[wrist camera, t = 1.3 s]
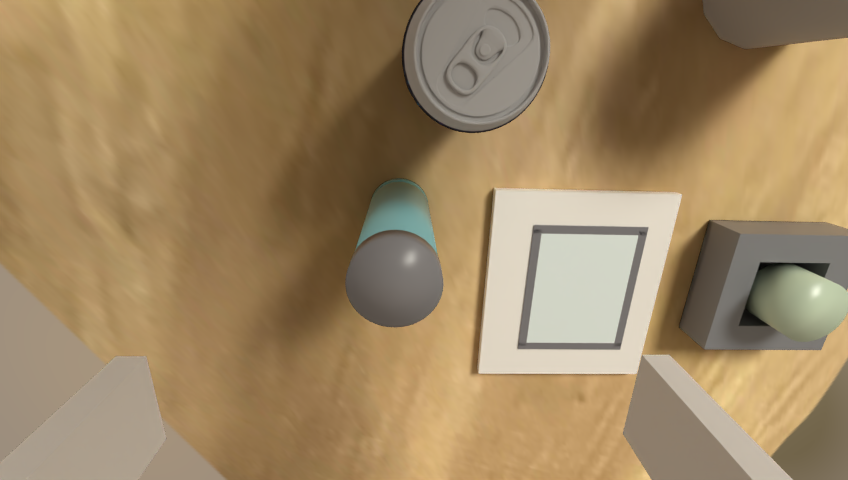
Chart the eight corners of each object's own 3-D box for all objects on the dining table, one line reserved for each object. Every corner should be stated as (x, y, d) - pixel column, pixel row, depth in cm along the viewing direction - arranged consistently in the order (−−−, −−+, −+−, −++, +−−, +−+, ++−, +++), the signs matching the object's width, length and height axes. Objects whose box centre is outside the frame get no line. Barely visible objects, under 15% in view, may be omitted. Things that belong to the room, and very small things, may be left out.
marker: (369, 176, 28) (343, 238, 17) (430, 178, 28) (445, 240, 17) (370, 233, 29) (346, 326, 18) (427, 234, 30) (441, 327, 18)
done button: (753, 261, 29) (794, 281, 26) (813, 262, 29) (860, 282, 26) (735, 316, 30) (771, 341, 27) (792, 317, 31) (834, 342, 28)
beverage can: (513, 62, 26) (594, 42, 15) (453, 134, 27) (487, 166, 16) (444, -5, 24) (476, -83, 13) (385, 75, 26) (369, 65, 15)
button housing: (709, 220, 30) (740, 233, 27) (827, 222, 30) (870, 236, 28) (678, 327, 33) (704, 349, 30) (786, 328, 34) (821, 349, 31)
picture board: (493, 187, 29) (496, 190, 28) (675, 192, 29) (683, 194, 28) (477, 368, 34) (478, 374, 33) (632, 368, 34) (637, 374, 34)
